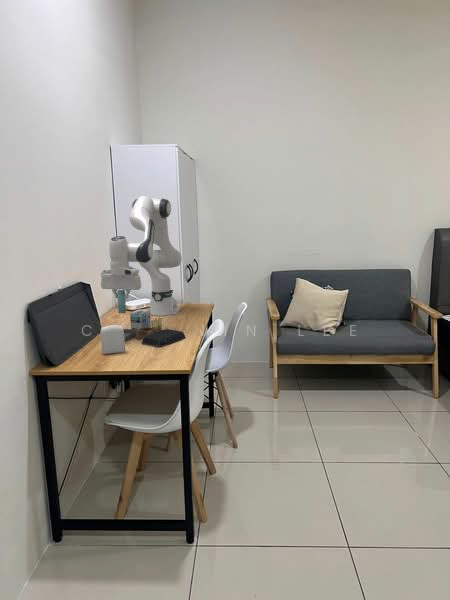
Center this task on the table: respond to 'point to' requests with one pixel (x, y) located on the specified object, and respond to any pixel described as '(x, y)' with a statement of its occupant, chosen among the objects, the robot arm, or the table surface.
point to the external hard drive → (163, 338)
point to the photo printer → (112, 339)
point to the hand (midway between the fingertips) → (121, 298)
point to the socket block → (144, 332)
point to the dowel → (121, 301)
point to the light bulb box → (140, 319)
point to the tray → (129, 334)
